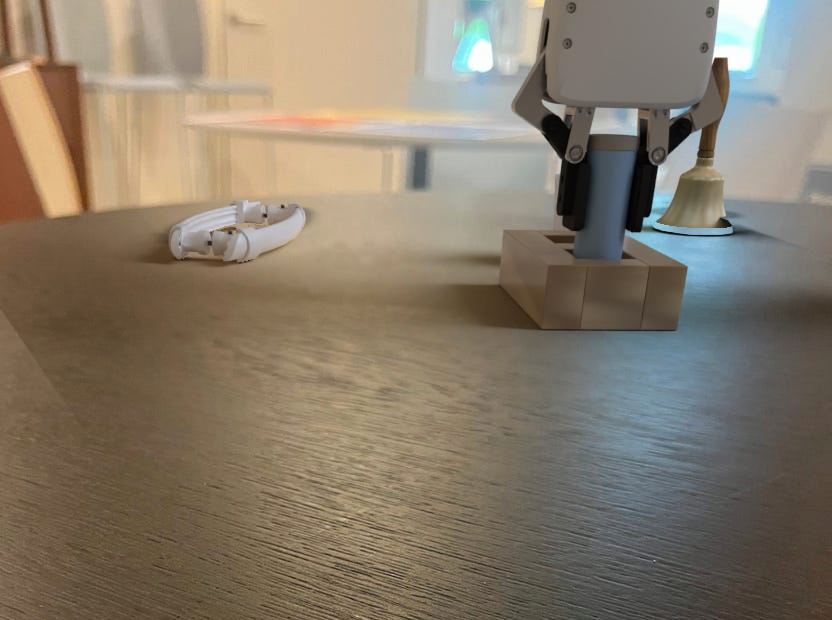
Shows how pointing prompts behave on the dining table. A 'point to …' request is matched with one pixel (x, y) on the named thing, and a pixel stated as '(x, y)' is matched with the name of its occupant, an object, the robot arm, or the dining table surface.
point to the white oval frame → (237, 230)
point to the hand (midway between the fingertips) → (601, 226)
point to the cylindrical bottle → (607, 196)
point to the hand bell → (702, 174)
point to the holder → (590, 283)
